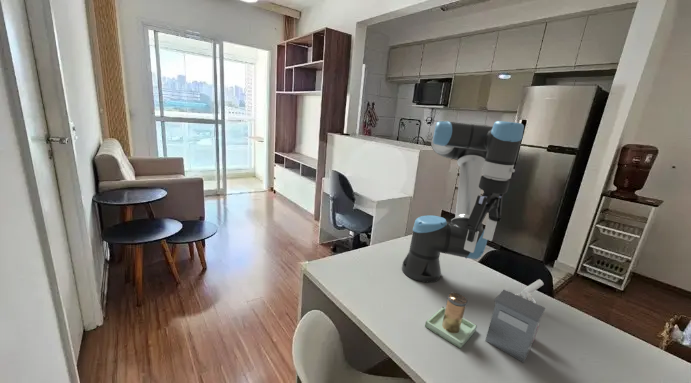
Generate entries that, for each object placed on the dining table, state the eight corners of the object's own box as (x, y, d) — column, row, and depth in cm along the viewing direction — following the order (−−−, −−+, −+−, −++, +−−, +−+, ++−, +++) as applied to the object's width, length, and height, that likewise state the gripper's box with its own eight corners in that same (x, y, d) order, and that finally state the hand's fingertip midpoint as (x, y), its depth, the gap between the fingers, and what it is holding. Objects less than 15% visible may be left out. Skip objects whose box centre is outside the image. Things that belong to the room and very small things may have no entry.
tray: (424, 326, 88) (425, 321, 87) (441, 311, 95) (442, 306, 95) (460, 348, 80) (461, 343, 80) (475, 330, 88) (477, 325, 88)
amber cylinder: (455, 336, 84) (462, 306, 81) (438, 326, 88) (444, 297, 85) (463, 328, 88) (470, 299, 85) (446, 318, 91) (452, 290, 89)
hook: (560, 299, 100) (550, 290, 98) (529, 318, 104) (519, 310, 101) (545, 283, 107) (535, 274, 104) (517, 301, 111) (507, 293, 108)
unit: (483, 340, 85) (495, 299, 81) (492, 328, 90) (503, 289, 86) (524, 364, 78) (539, 320, 74) (531, 349, 83) (545, 307, 79)
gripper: (492, 186, 72) (473, 262, 78) (523, 176, 89) (505, 239, 95) (463, 178, 77) (447, 250, 83) (498, 170, 94) (482, 230, 100)
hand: (478, 244), depth 89 cm, fingers open, 13 cm apart
